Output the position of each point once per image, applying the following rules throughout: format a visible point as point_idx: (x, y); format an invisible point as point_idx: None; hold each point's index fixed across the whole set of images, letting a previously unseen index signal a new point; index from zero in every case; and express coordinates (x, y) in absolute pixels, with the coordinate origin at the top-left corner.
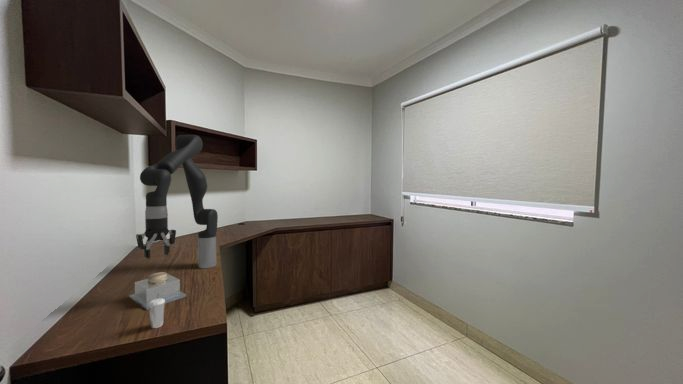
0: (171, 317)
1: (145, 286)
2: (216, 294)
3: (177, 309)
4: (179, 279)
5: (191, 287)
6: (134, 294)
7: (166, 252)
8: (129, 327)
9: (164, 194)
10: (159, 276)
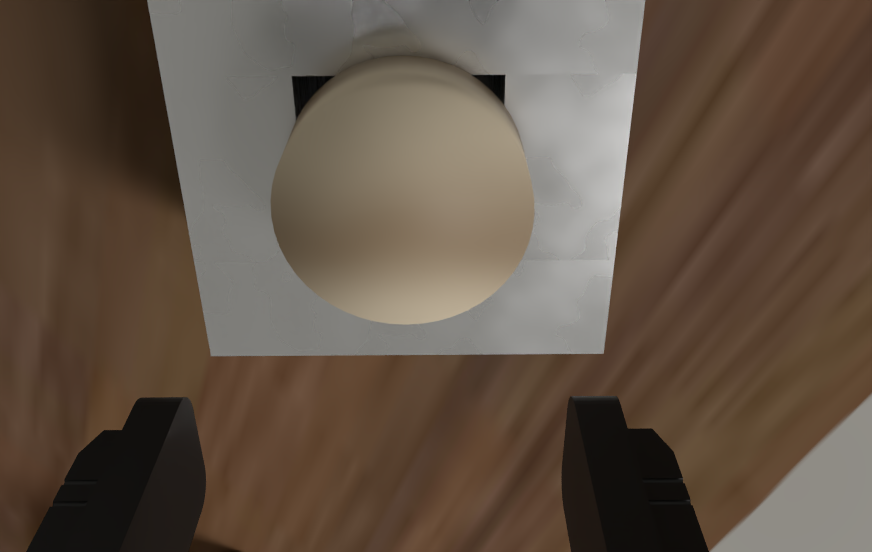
0: (336, 544)
1: (222, 261)
2: (766, 467)
3: (416, 475)
4: (602, 349)
5: (783, 120)
6: None
7: (572, 538)
8: None
9: None
10: (391, 303)
